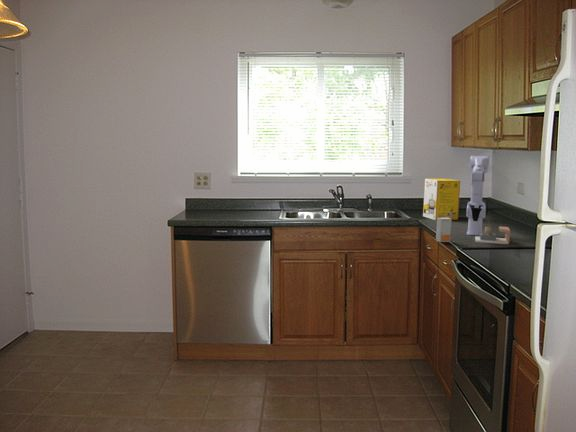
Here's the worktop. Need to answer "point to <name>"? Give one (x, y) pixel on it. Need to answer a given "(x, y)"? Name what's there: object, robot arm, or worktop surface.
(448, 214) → the packaging box
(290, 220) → the worktop surface
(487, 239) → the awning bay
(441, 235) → the skincare box
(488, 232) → the peg
